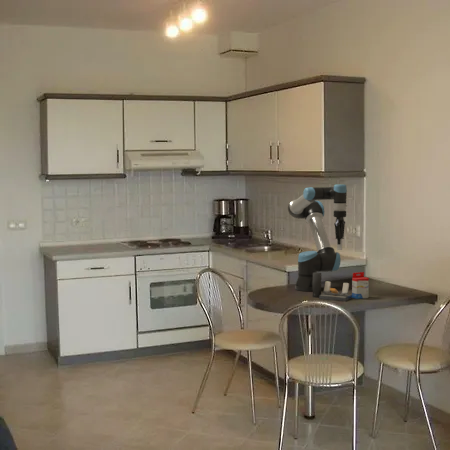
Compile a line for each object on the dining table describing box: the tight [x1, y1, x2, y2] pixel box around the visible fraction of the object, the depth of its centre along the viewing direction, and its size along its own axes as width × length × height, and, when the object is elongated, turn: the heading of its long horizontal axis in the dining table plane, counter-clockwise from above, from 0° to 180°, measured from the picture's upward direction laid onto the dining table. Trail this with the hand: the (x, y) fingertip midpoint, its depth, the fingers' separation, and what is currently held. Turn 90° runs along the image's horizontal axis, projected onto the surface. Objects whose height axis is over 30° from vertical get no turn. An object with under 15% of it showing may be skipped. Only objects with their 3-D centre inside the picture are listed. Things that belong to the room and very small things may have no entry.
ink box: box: [351, 271, 370, 300], centre depth 414 cm, size 8×5×15 cm, turn 116°
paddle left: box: [323, 281, 332, 293], centre depth 416 cm, size 3×2×7 cm, turn 61°
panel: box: [318, 292, 353, 302], centre depth 412 cm, size 16×11×3 cm
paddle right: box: [341, 282, 350, 295], centre depth 410 cm, size 3×2×7 cm, turn 61°
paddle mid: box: [330, 287, 340, 294], centre depth 410 cm, size 3×2×7 cm
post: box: [312, 272, 322, 299], centre depth 417 cm, size 5×5×14 cm
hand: (339, 249), depth 426 cm, fingers closed
